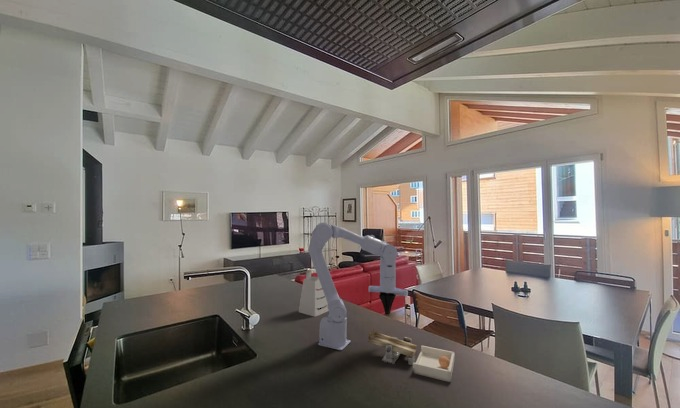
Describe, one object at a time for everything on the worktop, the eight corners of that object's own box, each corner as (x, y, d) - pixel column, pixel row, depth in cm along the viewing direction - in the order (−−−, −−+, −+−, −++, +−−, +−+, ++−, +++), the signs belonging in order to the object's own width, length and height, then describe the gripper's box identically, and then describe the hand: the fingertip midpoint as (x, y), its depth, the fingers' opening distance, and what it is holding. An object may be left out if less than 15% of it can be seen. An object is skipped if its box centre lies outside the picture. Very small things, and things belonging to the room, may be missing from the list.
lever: (367, 341, 96) (368, 333, 96) (378, 330, 106) (379, 322, 106) (413, 357, 89) (414, 348, 89) (419, 343, 99) (420, 335, 99)
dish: (413, 373, 85) (413, 363, 85) (421, 353, 97) (421, 345, 97) (450, 382, 80) (450, 372, 80) (454, 360, 92) (454, 352, 92)
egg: (437, 358, 87) (447, 358, 86) (438, 354, 90) (449, 354, 88) (439, 369, 87) (450, 370, 85) (440, 364, 89) (451, 365, 88)
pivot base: (382, 361, 92) (382, 345, 92) (389, 350, 99) (389, 335, 100) (410, 368, 88) (410, 351, 88) (416, 356, 95) (416, 340, 95)
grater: (312, 306, 147) (313, 267, 148) (329, 310, 141) (329, 269, 141) (298, 312, 138) (299, 270, 139) (315, 316, 132) (315, 272, 133)
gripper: (409, 276, 107) (409, 313, 106) (372, 272, 113) (372, 307, 113) (405, 280, 101) (405, 319, 100) (366, 275, 107) (366, 312, 106)
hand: (387, 313), depth 106 cm, fingers closed
